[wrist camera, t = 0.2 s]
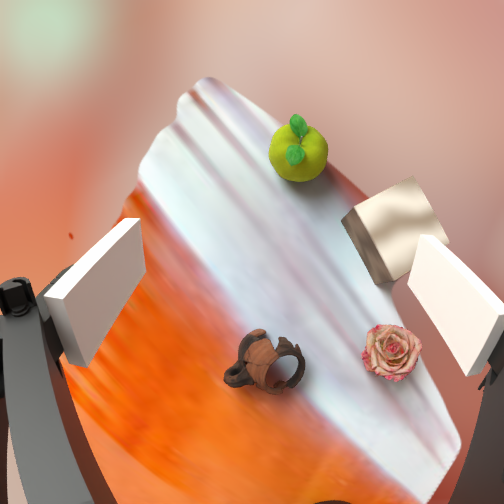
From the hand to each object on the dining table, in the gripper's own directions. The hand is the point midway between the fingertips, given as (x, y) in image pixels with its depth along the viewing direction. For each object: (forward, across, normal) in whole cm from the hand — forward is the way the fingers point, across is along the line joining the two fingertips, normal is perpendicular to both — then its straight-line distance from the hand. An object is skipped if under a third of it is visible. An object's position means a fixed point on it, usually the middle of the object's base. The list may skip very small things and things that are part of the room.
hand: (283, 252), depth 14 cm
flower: (+24, -20, +28) cm, 42 cm away
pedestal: (+34, -21, +12) cm, 42 cm away
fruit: (+41, -5, +3) cm, 41 cm away
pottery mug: (+23, -1, +30) cm, 37 cm away
